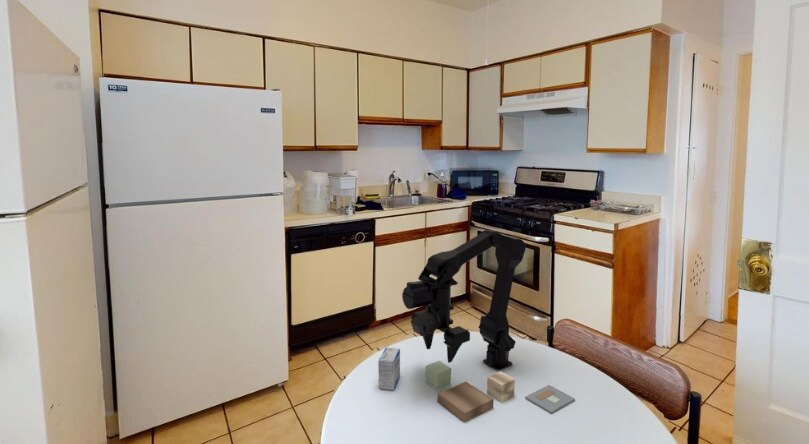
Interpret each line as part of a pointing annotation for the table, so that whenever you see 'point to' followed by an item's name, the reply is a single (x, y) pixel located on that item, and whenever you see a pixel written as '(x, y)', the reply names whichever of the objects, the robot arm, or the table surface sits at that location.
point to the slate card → (550, 399)
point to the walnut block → (465, 401)
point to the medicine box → (389, 368)
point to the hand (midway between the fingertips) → (438, 355)
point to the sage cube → (438, 375)
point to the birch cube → (500, 386)
